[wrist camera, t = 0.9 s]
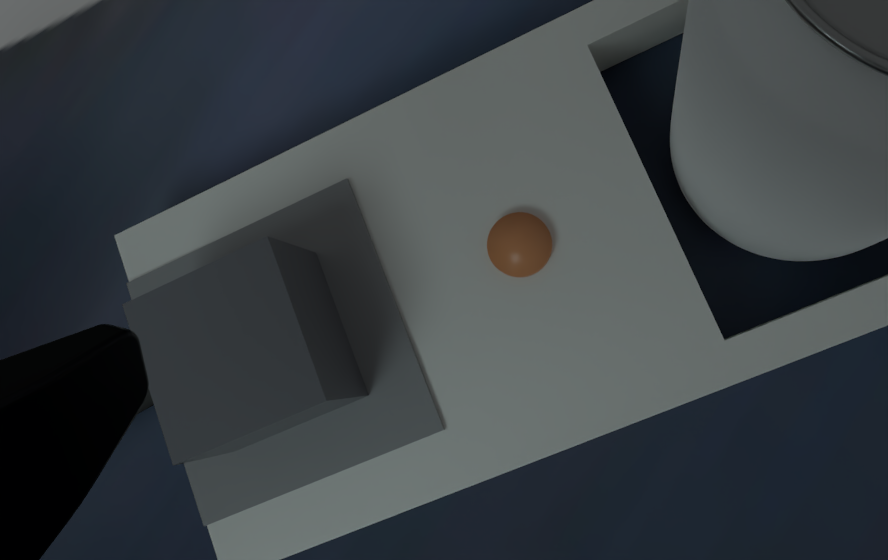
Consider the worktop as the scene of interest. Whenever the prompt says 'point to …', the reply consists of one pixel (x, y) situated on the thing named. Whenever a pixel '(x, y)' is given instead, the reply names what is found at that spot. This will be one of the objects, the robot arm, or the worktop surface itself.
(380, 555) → the worktop surface
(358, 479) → the strip dock
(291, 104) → the worktop surface
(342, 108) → the worktop surface
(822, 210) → the can
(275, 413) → the block
